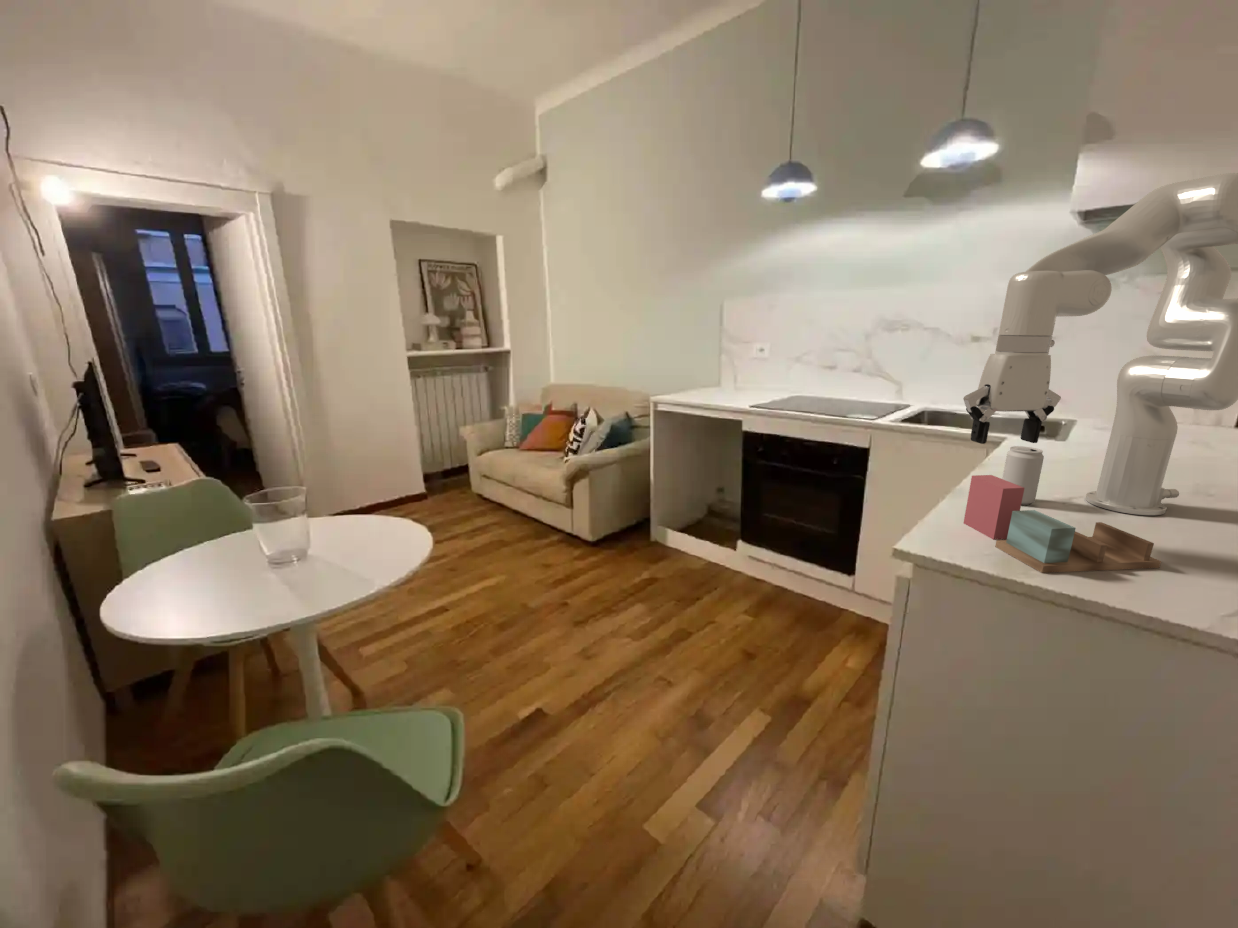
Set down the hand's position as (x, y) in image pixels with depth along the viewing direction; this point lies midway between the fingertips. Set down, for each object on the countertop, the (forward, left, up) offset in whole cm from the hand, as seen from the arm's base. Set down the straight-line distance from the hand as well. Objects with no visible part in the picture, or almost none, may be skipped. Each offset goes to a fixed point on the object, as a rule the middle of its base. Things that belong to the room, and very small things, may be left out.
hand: (1003, 441), depth 95 cm
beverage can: (-18, -15, -18) cm, 30 cm away
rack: (-6, +12, -18) cm, 22 cm away
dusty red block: (0, 0, -18) cm, 18 cm away
